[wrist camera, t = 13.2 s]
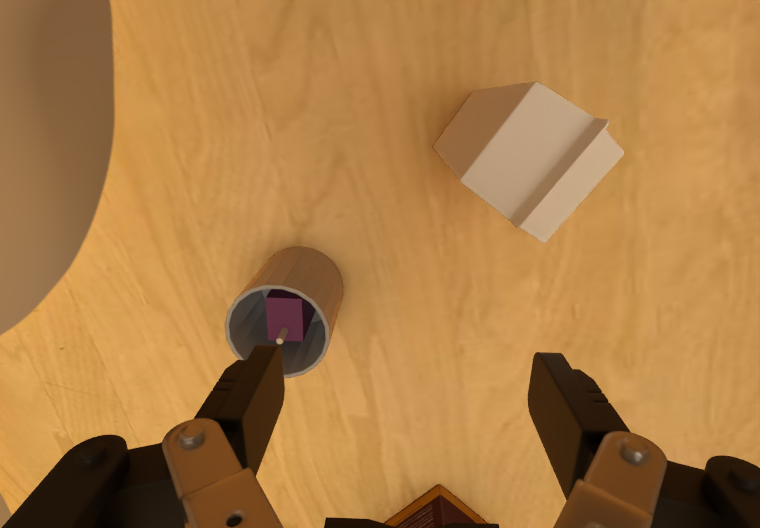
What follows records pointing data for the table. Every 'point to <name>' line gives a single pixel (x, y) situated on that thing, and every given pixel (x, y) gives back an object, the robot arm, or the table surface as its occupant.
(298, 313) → the juice box
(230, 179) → the table surface
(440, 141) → the milk
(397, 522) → the supplement box
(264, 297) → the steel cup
